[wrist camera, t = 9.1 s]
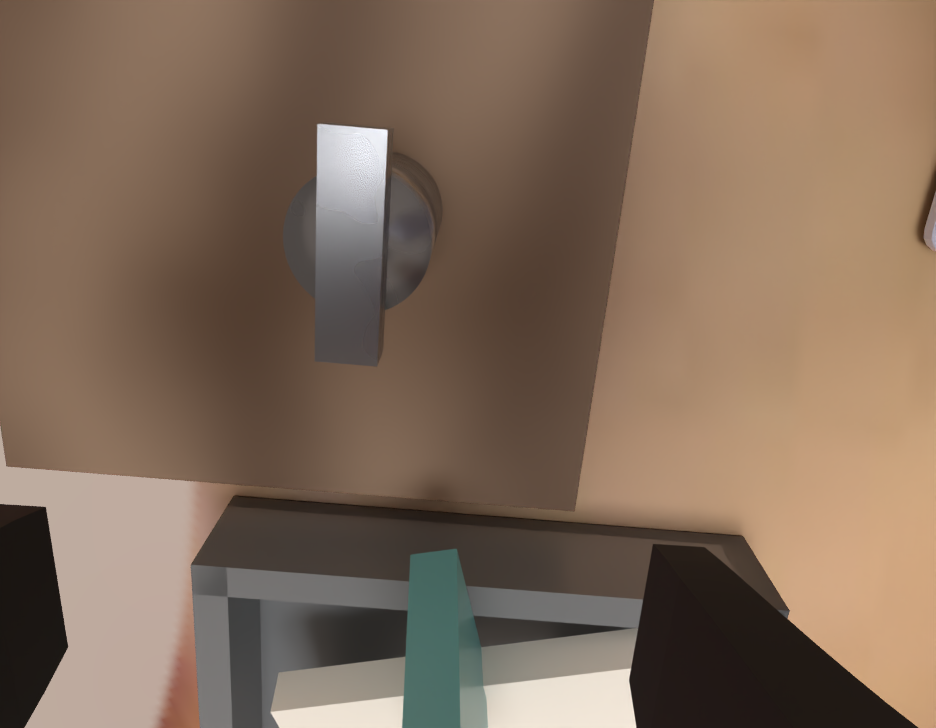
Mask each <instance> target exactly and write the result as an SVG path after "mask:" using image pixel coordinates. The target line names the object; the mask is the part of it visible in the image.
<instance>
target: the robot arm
mask: <svg viewBox="0 0 936 728" xmlns="http://www.w3.org/2000/svg"><path fill="white" fill-rule="evenodd" d="M924 240H925V243H926V245H927V246H928V247H929V248H930V249H931V250H933V251H936V192H935V196H934V199H933V202H932V206H931V209H930V212H929V216H928V219H927V222H926V226H925V229H924ZM67 648H68V643H67V637H66V631H65V625H64V618H63V612H62V606H61V600H60V594H59V587H58V581H57V575H56V568H55V562H54V556H53V550H52V543H51V537H50V531H49V524H48V518H47V512H46V507H37V506H21V505H4V504H0V728H24V727H25V726H26V724H27V722H28V720H29V719H30V717H31V715H32V713H33V712H34V710H35V708H36V706H37V705H38V703H39V701H40V699H41V697H42V695H43V694H44V692H45V690H46V688H47V686H48V684H49V683H50V681H51V679H52V677H53V675H54V673H55V671H56V669H57V667H58V665H59V663H60V662H61V659H62V658H63V656H64V654H65V652H66V650H67ZM629 684H630V690H631V696H632V703H633V709H634V715H635V722H636V728H918V727H917V726H915V725H914V724H913V723H912V722H910V721H909V720H908V719H906V718H905V717H904V716H903V715H901V714H900V713H899V712H897V711H896V710H895V709H894V708H892V707H891V706H890V705H888V704H887V703H886V702H885V701H884V700H882V699H881V698H880V697H879V696H877V695H876V694H875V693H874V692H873V691H871V690H870V689H869V688H868V687H866V686H865V685H864V684H863V683H862V682H860V681H859V680H858V679H857V678H855V677H854V676H853V675H852V674H851V673H850V672H848V671H847V670H846V669H845V668H844V667H842V666H841V665H840V664H839V663H838V662H836V661H835V660H834V659H833V658H832V657H831V656H829V655H828V654H827V653H826V652H825V651H824V650H822V649H821V648H820V647H819V646H818V645H817V644H815V643H814V642H813V641H812V640H811V639H810V638H809V637H807V636H806V635H805V634H804V633H803V632H802V631H800V630H799V629H798V628H797V627H796V626H795V625H794V624H792V623H791V622H790V621H789V620H788V619H787V618H786V617H785V616H783V615H782V614H781V613H780V612H779V611H778V610H777V609H776V608H774V607H773V606H772V605H771V604H770V603H769V602H768V601H767V600H765V599H764V598H763V597H762V596H761V595H760V594H759V593H757V592H756V591H755V590H754V589H753V588H752V587H751V586H750V585H748V584H747V583H746V582H745V581H744V580H743V579H742V578H741V577H739V576H738V575H737V574H736V573H735V572H734V571H733V570H731V569H730V568H729V567H728V566H727V565H726V564H725V563H723V562H722V561H721V560H720V559H719V558H717V557H716V556H715V555H714V554H712V553H711V552H710V551H709V550H707V549H706V548H705V547H697V546H681V545H664V544H653V546H652V552H651V558H650V563H649V569H648V575H647V580H646V586H645V592H644V597H643V603H642V609H641V614H640V620H639V626H638V632H637V637H636V643H635V649H634V654H633V660H632V666H631V671H630V677H629Z"/></svg>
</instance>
